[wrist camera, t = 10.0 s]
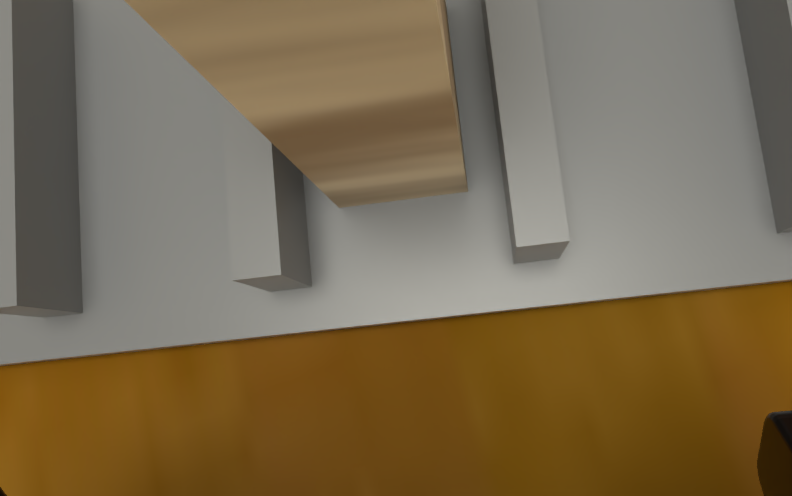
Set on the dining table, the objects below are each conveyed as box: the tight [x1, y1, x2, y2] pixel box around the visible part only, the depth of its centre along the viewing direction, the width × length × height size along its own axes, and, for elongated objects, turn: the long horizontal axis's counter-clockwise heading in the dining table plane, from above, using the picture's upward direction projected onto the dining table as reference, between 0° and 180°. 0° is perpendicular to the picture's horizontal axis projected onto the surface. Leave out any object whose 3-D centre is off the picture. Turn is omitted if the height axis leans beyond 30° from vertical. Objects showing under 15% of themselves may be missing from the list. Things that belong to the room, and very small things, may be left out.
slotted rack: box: [0, 0, 792, 366], centre depth 17 cm, size 10×22×3 cm, turn 96°
